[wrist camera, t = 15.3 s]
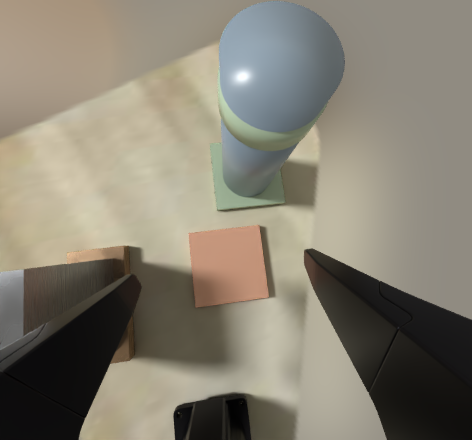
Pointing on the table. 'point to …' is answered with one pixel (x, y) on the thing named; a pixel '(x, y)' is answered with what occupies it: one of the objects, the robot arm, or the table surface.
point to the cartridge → (272, 88)
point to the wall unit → (60, 293)
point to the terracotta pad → (227, 266)
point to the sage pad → (234, 201)
